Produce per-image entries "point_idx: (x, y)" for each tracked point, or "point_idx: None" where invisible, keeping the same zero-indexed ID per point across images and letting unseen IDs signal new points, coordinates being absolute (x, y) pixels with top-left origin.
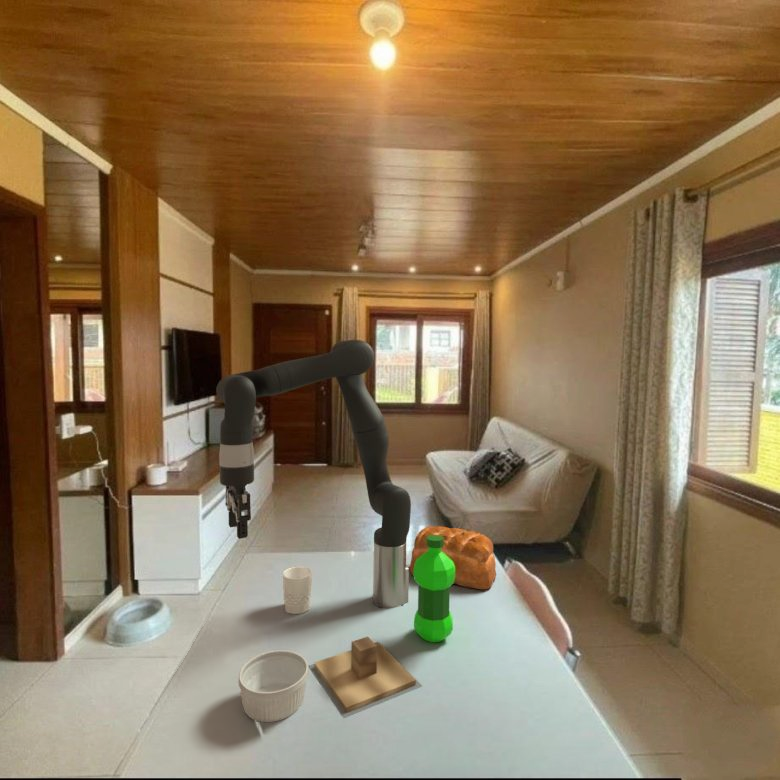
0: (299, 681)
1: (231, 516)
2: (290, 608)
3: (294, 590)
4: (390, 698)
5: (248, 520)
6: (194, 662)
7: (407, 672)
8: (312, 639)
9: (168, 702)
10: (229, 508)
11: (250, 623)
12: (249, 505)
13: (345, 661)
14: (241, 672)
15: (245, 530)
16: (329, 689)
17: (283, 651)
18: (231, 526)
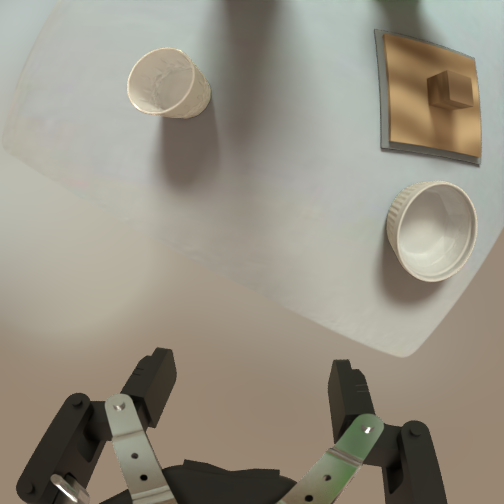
0: (475, 213)
1: (160, 405)
2: (198, 111)
3: (196, 98)
4: (479, 101)
5: (375, 415)
6: (272, 291)
7: (460, 55)
8: (308, 106)
9: (339, 328)
10: (150, 443)
11: (199, 188)
12: (441, 490)
13: (410, 101)
14: (417, 276)
15: (367, 391)
16: (439, 150)
17: (411, 202)
18: (174, 372)
